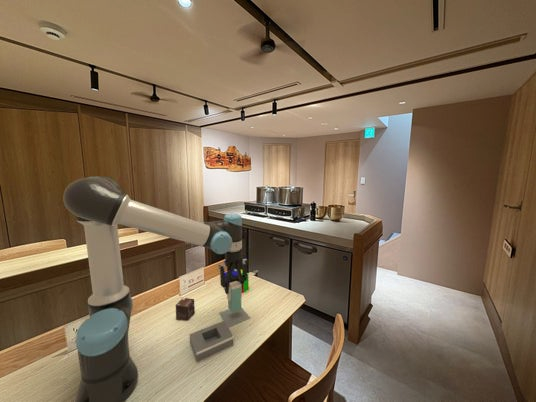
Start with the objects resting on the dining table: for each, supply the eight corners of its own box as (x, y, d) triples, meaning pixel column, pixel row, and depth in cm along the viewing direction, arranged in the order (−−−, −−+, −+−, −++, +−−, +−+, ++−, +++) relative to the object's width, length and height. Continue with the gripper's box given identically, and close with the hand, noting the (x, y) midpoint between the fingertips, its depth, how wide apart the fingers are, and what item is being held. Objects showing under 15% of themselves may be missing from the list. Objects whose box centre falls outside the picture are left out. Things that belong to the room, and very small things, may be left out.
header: (196, 363, 74) (196, 353, 74) (189, 343, 83) (189, 334, 82) (233, 346, 82) (233, 337, 81) (223, 329, 90) (223, 320, 90)
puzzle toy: (223, 289, 121) (223, 273, 119) (238, 283, 127) (238, 267, 126) (233, 297, 113) (233, 279, 112) (248, 290, 120) (248, 273, 119)
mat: (227, 328, 91) (227, 327, 91) (218, 314, 100) (218, 312, 100) (250, 319, 97) (250, 318, 97) (239, 306, 106) (239, 305, 106)
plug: (232, 313, 94) (231, 288, 93) (228, 307, 98) (227, 283, 97) (241, 309, 97) (240, 285, 95) (237, 304, 101) (236, 280, 99)
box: (187, 322, 94) (187, 307, 93) (175, 320, 96) (175, 305, 95) (195, 313, 100) (194, 298, 99) (183, 311, 102) (183, 297, 100)
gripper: (217, 256, 86) (218, 308, 89) (255, 247, 95) (255, 295, 99) (211, 250, 92) (212, 299, 95) (247, 243, 101) (247, 288, 105)
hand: (234, 297), depth 97 cm, fingers closed on plug, 4 cm apart
